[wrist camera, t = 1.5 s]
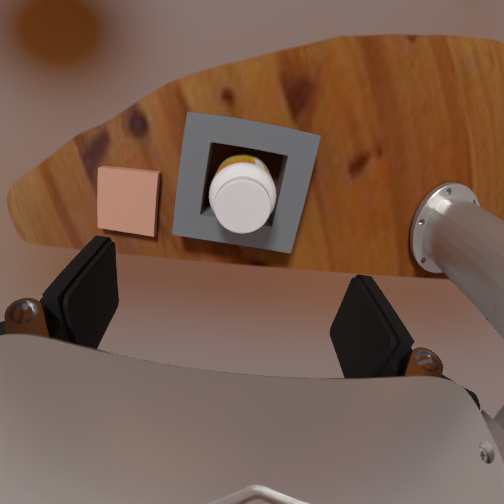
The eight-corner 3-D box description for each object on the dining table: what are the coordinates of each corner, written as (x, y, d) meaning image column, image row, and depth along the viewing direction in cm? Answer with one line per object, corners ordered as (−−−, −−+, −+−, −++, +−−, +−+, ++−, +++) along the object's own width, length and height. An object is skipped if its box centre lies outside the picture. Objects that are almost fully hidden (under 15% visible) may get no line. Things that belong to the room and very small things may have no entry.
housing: (313, 133, 26) (320, 135, 24) (286, 241, 32) (290, 253, 29) (193, 112, 25) (187, 111, 22) (178, 223, 30) (172, 234, 28)
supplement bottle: (206, 186, 29) (189, 219, 20) (234, 142, 27) (230, 154, 18) (250, 212, 30) (252, 255, 21) (279, 171, 28) (296, 197, 19)
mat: (160, 171, 28) (158, 173, 27) (156, 232, 31) (153, 236, 30) (102, 165, 27) (98, 167, 26) (101, 224, 30) (97, 227, 29)
